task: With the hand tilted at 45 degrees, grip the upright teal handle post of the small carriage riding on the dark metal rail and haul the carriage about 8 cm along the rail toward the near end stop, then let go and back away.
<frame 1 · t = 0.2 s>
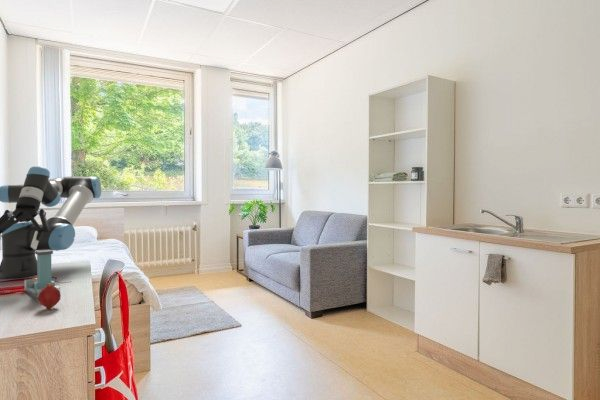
hand: (13, 249, 138), 15 cm above the table, tool tilted 35°, fingers open, 13 cm apart
onion: (49, 309, 116), on the table
rail: (41, 294, 132), on the table
carriage: (44, 269, 129), point 9 cm above the table, slide at 0.0 cm
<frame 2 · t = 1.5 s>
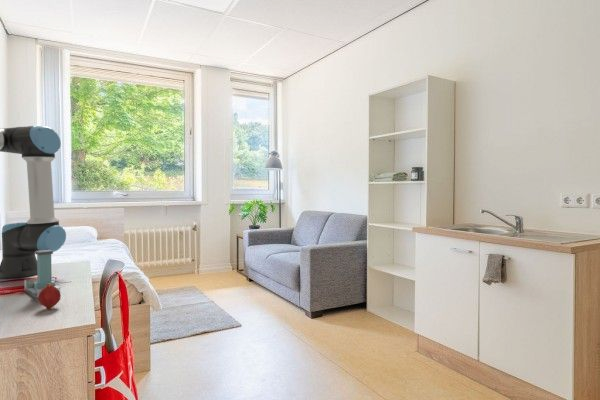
nothing on the table moved.
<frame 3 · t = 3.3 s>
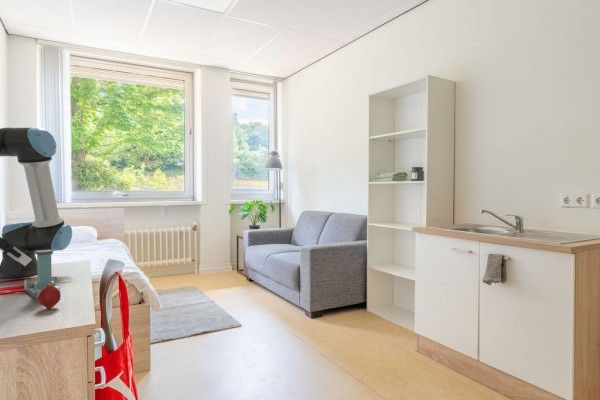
hand: (24, 260, 124), 14 cm above the table, tool tilted 45°, fingers open, 13 cm apart
nothing on the table moved.
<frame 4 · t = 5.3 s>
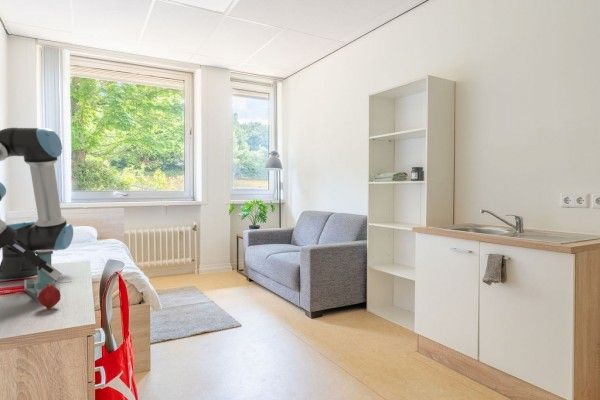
hand: (57, 275, 132), 7 cm above the table, tool tilted 45°, fingers closed on carriage, 3 cm apart
carriage: (44, 269, 129), point 9 cm above the table, slide at 0.0 cm, touching gripper
everything else where it was.
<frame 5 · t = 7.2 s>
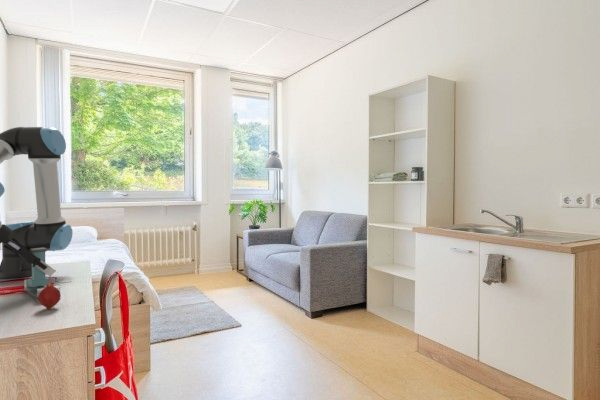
hand: (51, 272, 137), 7 cm above the table, tool tilted 45°, fingers closed on carriage, 3 cm apart
carriage: (38, 266, 134), point 9 cm above the table, slide at 8.0 cm, touching gripper
everything else where it was.
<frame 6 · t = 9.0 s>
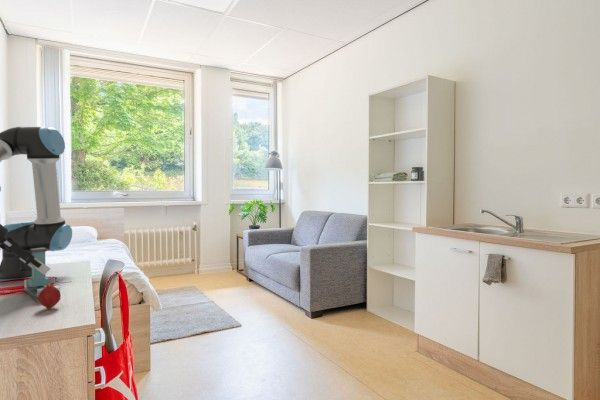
hand: (42, 269, 135), 8 cm above the table, tool tilted 45°, fingers open, 13 cm apart
carriage: (38, 266, 134), point 9 cm above the table, slide at 8.0 cm
everything else where it was.
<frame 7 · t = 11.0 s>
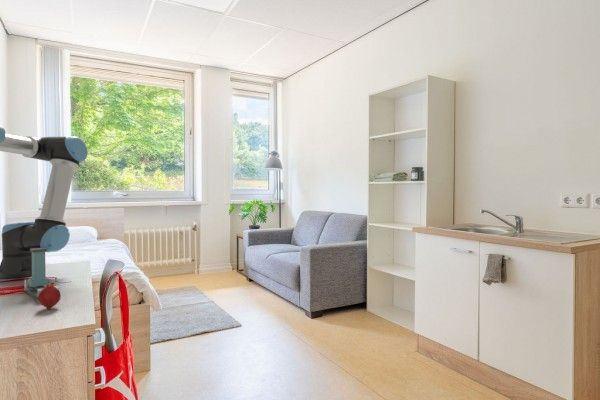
nothing on the table moved.
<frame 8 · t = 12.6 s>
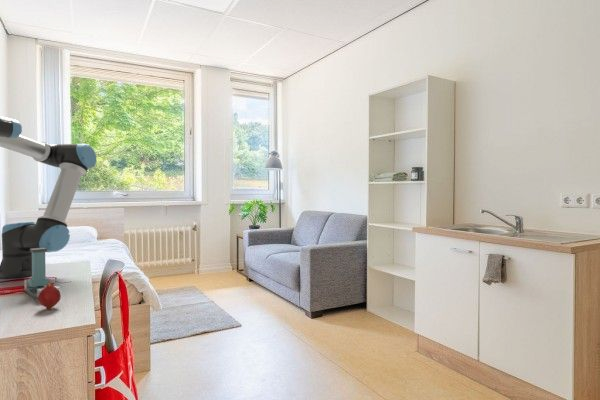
nothing on the table moved.
at the end: carriage slide at 8.0 cm; the gripper is holding nothing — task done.
